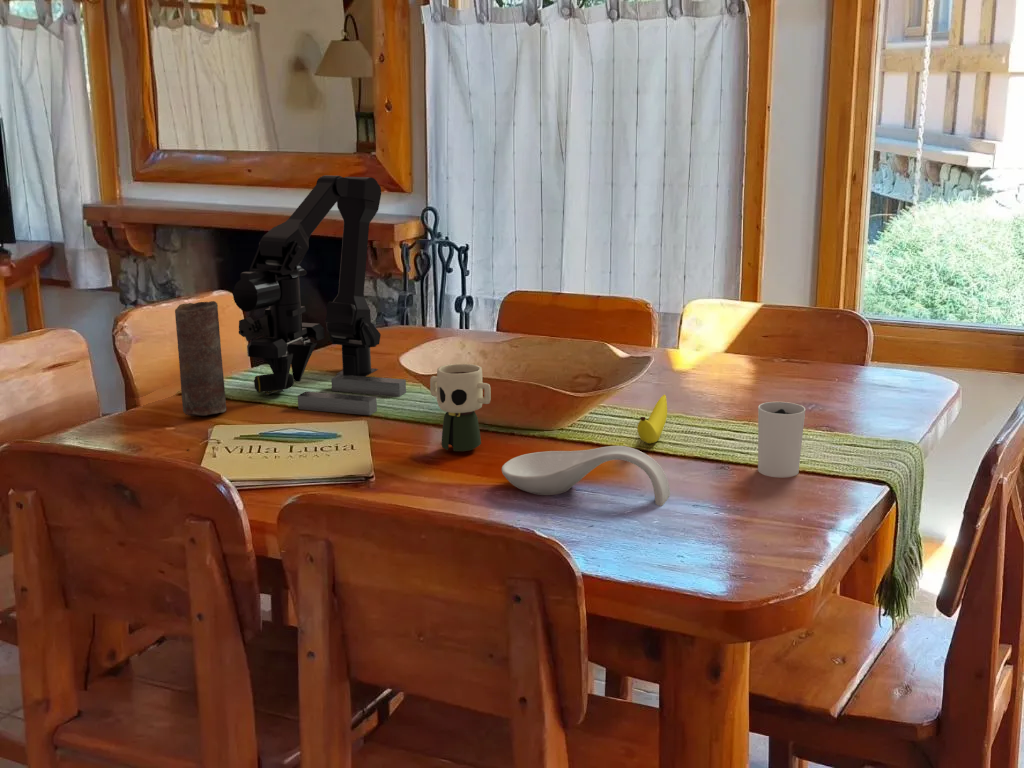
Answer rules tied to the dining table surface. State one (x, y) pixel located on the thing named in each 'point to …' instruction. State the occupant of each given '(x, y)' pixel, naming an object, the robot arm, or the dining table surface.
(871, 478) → the dining table surface
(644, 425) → the banana
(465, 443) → the character mug
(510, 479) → the spoon rest
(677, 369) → the dining table surface
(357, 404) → the guide channel
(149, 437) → the dining table surface
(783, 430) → the light grey cup
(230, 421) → the dining table surface
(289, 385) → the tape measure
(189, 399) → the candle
